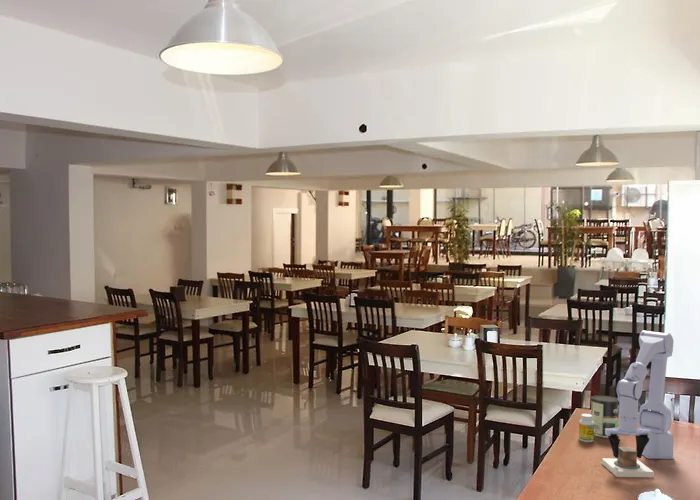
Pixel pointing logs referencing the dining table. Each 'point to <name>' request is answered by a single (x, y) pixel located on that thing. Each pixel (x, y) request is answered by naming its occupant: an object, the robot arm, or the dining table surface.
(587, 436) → the supplement bottle
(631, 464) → the walnut block
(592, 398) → the coffee can
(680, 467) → the dining table surface
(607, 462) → the base board
